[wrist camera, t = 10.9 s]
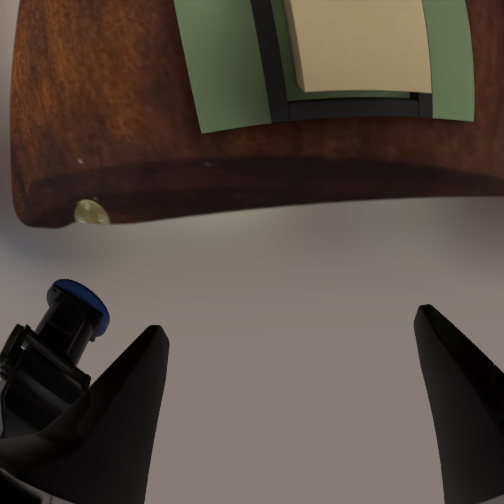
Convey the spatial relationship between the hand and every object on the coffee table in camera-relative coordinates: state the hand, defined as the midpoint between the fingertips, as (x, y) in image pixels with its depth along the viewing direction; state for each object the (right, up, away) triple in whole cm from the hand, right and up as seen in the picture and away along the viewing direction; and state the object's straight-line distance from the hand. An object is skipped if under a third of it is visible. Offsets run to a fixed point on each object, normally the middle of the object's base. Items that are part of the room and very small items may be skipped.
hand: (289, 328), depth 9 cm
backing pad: (+4, +15, +4) cm, 16 cm away
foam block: (+4, +14, +3) cm, 15 cm away
